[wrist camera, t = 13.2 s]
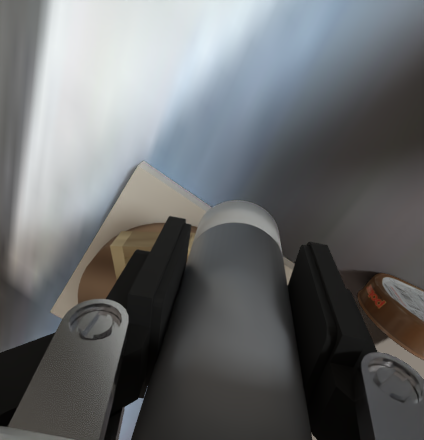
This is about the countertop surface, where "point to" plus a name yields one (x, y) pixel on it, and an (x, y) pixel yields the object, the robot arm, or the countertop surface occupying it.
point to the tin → (396, 310)
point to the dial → (118, 259)
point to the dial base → (140, 220)
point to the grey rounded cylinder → (229, 340)
